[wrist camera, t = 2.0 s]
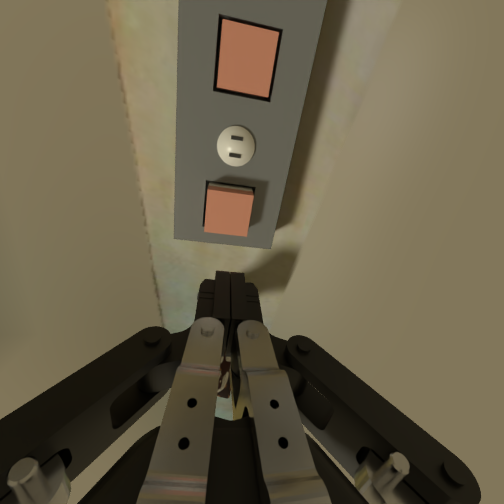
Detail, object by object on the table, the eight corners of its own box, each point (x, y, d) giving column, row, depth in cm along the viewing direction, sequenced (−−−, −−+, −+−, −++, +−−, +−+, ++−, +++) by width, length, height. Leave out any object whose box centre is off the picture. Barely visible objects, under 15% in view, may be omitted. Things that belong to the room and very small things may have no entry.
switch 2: (209, 181, 24) (207, 189, 22) (251, 188, 24) (253, 195, 22) (206, 221, 26) (204, 231, 24) (245, 226, 26) (246, 236, 24)
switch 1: (223, 28, 20) (222, 18, 18) (273, 40, 20) (278, 32, 18) (218, 89, 22) (216, 86, 19) (264, 98, 22) (268, 97, 20)
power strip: (189, -100, 17) (180, -148, 14) (328, -58, 19) (349, -93, 16) (179, 224, 29) (173, 240, 25) (266, 235, 30) (271, 250, 27)
